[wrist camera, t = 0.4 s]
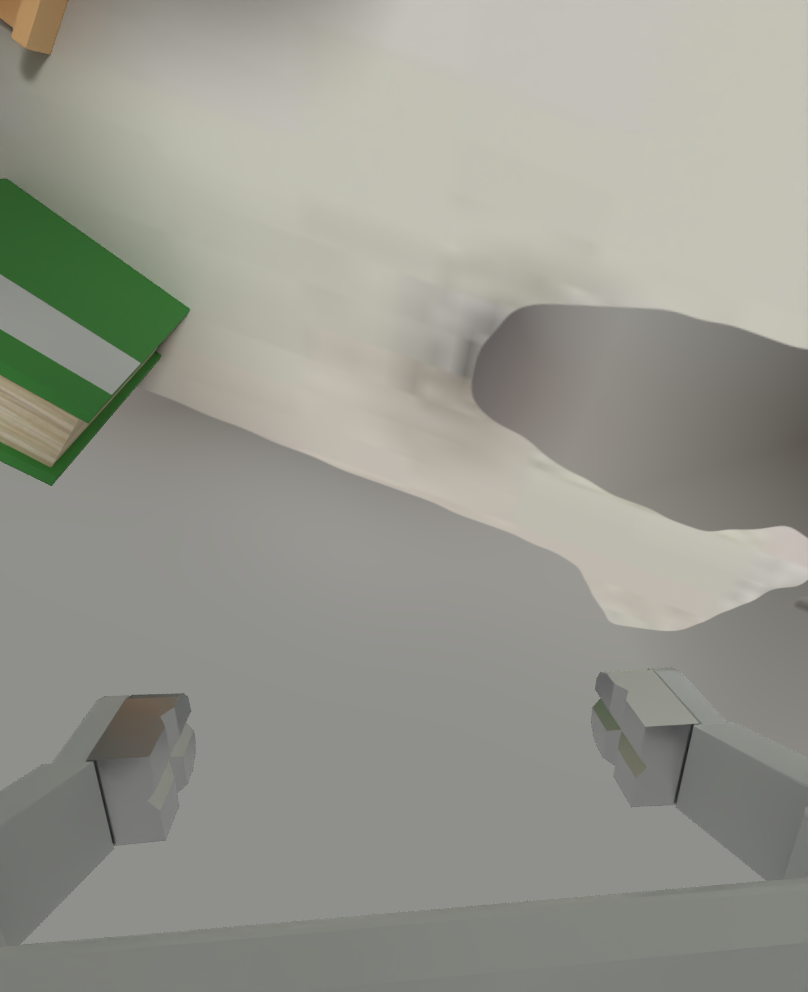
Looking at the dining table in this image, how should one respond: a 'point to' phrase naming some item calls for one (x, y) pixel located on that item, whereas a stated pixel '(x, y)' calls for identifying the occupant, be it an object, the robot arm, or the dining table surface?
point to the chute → (34, 22)
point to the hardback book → (67, 335)
